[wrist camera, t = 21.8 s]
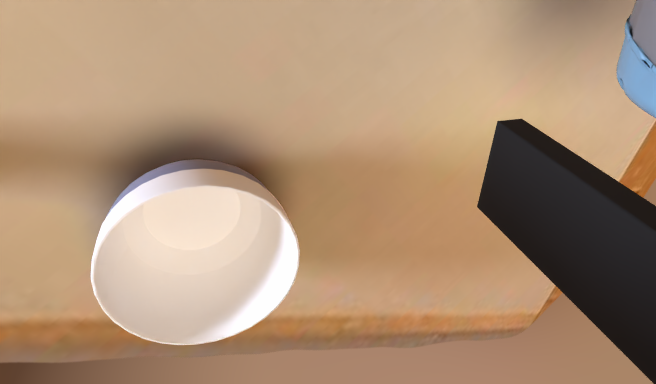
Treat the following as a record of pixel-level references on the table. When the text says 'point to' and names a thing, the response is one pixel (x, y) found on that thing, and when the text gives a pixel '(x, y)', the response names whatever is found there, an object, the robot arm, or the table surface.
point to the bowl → (194, 254)
